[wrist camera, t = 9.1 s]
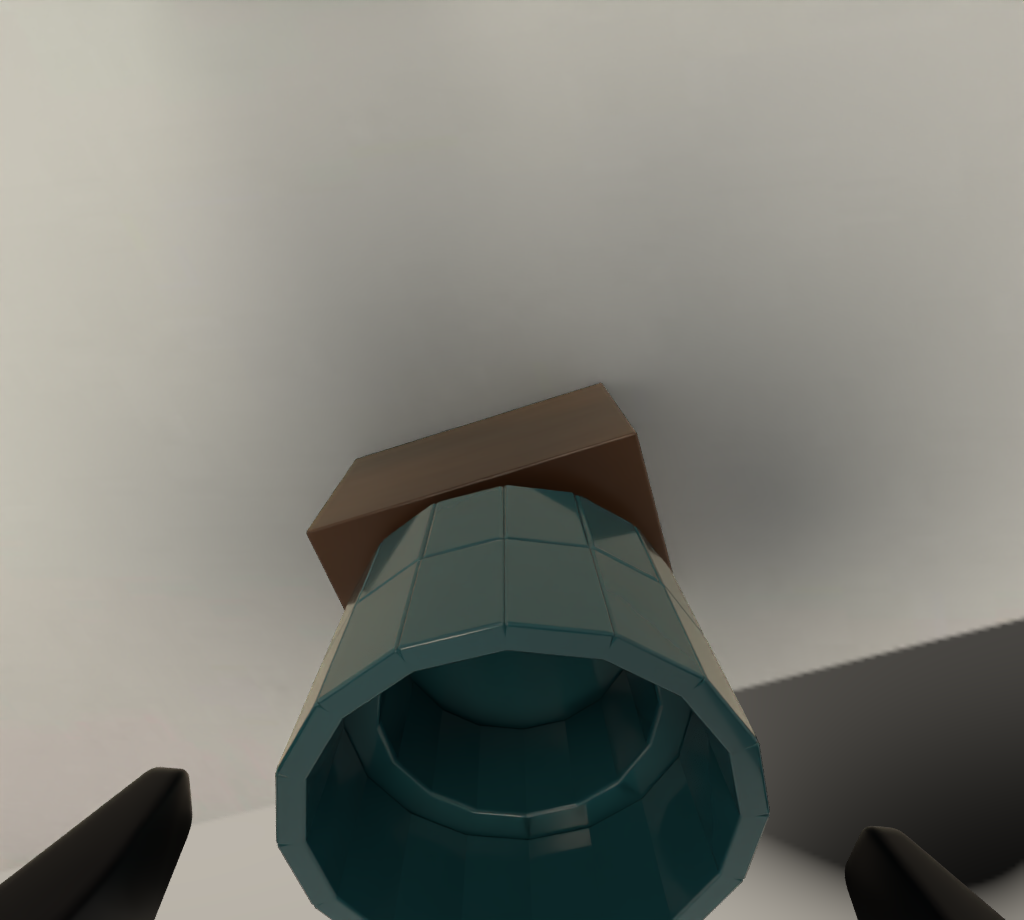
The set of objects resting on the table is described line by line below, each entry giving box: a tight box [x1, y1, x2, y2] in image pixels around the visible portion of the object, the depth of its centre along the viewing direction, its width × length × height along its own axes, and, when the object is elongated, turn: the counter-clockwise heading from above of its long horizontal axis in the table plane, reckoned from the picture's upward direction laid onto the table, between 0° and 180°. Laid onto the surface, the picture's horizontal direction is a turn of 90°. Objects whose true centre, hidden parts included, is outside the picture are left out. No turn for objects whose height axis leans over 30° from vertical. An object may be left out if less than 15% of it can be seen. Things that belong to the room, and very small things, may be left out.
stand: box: [307, 383, 673, 610], centre depth 14 cm, size 6×6×4 cm
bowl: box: [275, 485, 770, 920], centre depth 10 cm, size 6×6×4 cm
